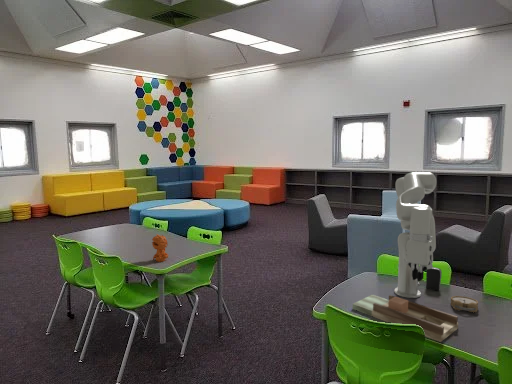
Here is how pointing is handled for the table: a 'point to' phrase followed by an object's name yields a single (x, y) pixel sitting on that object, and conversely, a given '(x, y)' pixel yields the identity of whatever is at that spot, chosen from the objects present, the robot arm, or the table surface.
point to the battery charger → (433, 278)
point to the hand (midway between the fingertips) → (417, 279)
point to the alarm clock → (464, 303)
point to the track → (410, 316)
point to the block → (398, 304)
